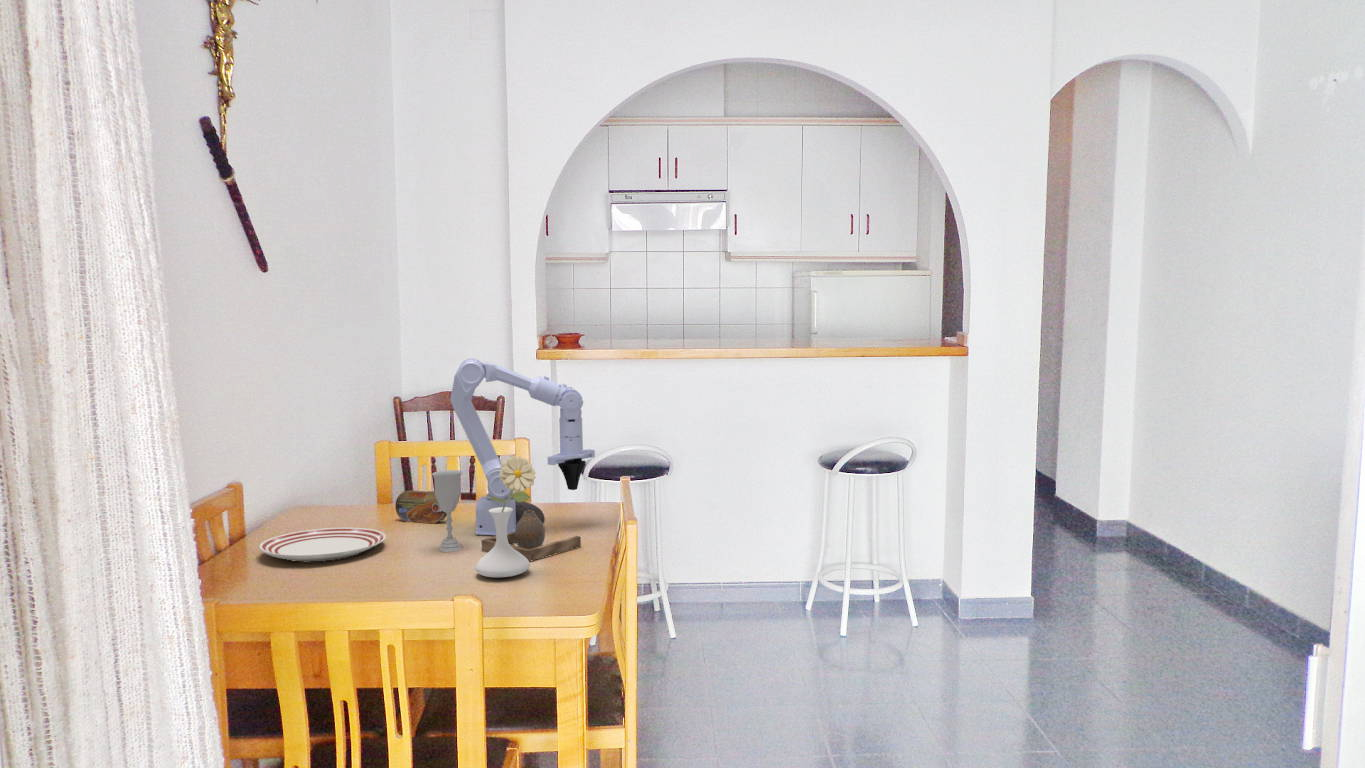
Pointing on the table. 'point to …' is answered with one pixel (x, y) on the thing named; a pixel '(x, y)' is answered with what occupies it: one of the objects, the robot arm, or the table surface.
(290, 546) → the dinner plate
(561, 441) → the robot arm
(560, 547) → the tray
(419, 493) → the tin
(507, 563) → the flower in vase
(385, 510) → the table surface
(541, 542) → the vase
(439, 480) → the chalice
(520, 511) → the perforated stone tool
